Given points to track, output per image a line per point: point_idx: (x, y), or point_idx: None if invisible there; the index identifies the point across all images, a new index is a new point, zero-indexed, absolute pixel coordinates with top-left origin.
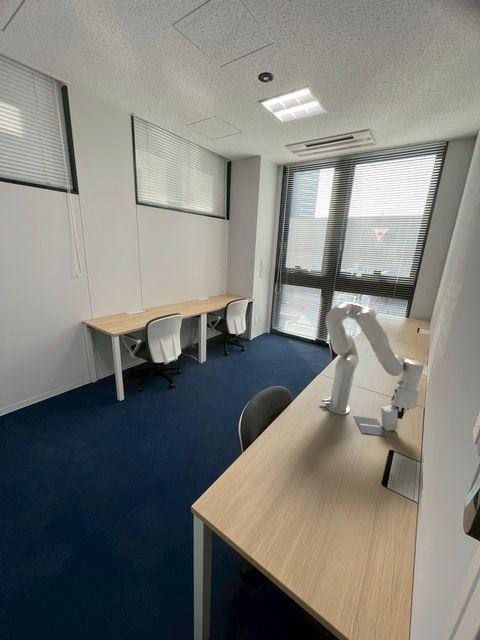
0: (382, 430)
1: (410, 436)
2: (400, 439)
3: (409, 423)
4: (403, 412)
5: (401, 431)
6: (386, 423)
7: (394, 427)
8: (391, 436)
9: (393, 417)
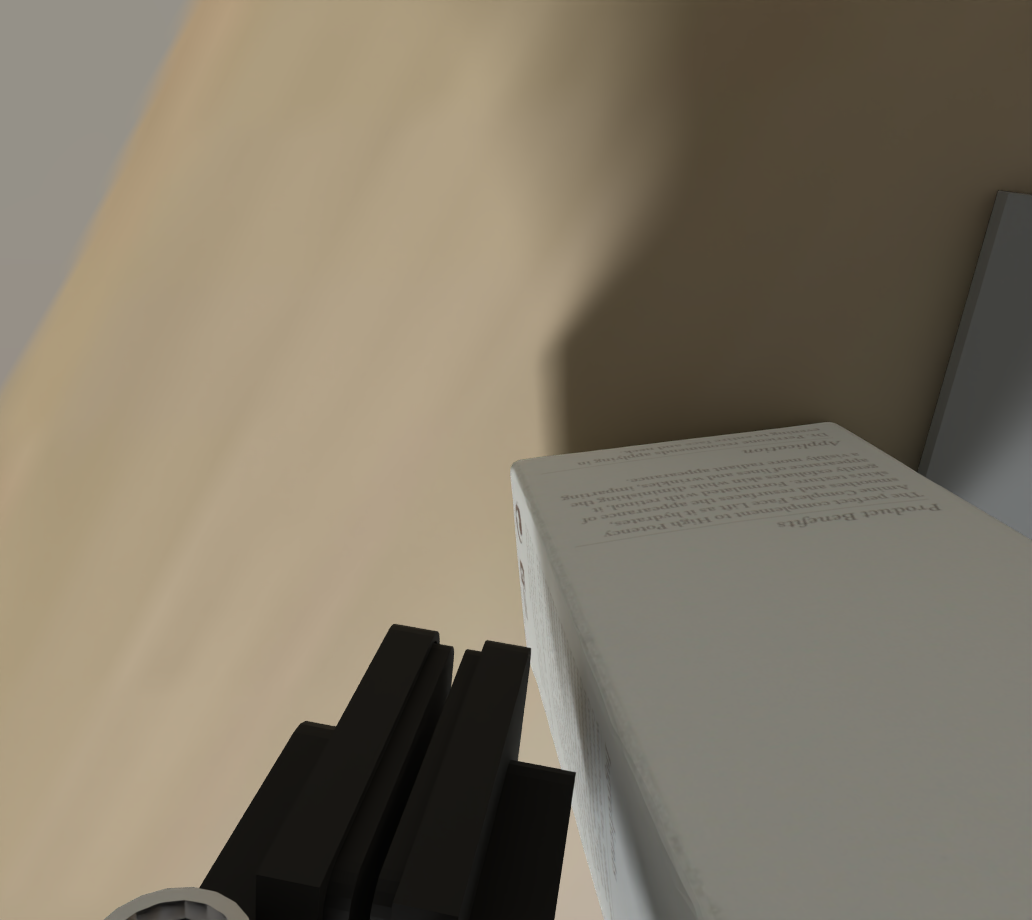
0: (986, 428)
1: (260, 255)
2: (623, 107)
3: (61, 693)
4: (278, 886)
5: (401, 433)
6: (1009, 527)
7: (635, 467)
8: (827, 219)
9: (841, 674)
